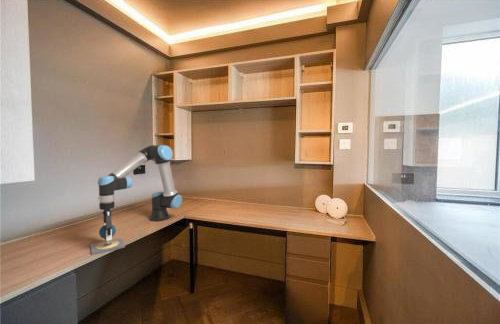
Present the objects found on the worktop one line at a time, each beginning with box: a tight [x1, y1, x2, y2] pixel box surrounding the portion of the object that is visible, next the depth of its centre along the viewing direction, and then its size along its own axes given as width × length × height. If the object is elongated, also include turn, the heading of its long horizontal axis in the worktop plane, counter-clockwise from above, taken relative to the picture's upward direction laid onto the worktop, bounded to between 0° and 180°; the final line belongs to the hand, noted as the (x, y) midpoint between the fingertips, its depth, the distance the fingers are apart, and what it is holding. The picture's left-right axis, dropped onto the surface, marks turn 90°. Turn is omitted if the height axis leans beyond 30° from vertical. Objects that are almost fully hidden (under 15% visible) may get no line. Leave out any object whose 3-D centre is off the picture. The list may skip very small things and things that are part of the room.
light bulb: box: [98, 224, 117, 244], centre depth 129 cm, size 8×8×12 cm
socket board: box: [90, 237, 126, 256], centre depth 129 cm, size 16×15×2 cm
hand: (107, 236), depth 129 cm, fingers open, 13 cm apart
